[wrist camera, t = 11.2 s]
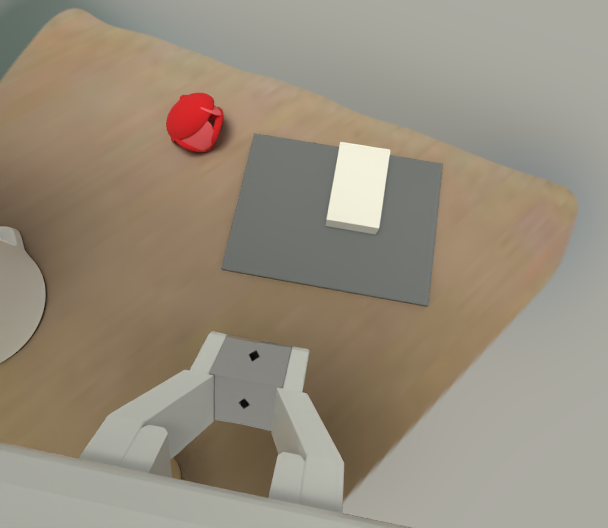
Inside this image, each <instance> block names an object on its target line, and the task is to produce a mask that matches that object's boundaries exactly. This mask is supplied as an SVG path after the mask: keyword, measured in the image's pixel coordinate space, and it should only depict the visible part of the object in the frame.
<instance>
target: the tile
mask: <svg viewBox="0 0 608 528" xmlns="http://www.w3.org/2000/svg"><path fill="white" fill-rule="evenodd" d="M389 156H390V150H388V149H382V148H376V147H370V146H363V145H357V144H351V143H345V142H340V146H339V152H338V158H337V163H336V169H335V174H334V180H333V185H332V191H331V197H330V202H329V208H328V213H327V219H326V226H328V227H334V228H340V229H346V230H352V231H357V232H363V233H369V234H375V235H376V233H377V231H378V230H379V226H380V219H381V212H382V205H383V198H384V191H385V184H386V177H387V170H388V163H389Z"/></svg>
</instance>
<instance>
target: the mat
mask: <svg viewBox="0 0 608 528" xmlns="http://www.w3.org/2000/svg"><path fill="white" fill-rule="evenodd" d="M338 152H339V147H335V146H329V145H323V144H317V143H310V142H304V141H298V140H292V139H285V138H279V137H273V136H267V135H261V134H254V137H253V141H252V145H251V149H250V153H249V157H248V161H247V165H246V169H245V174H244V178H243V182H242V186H241V190H240V194H239V198H238V202H237V207H236V211H235V215H234V219H233V223H232V227H231V231H230V235H229V239H228V244H227V248H226V252H225V256H224V260H223V264H222V268H221V269H222V270H226V271H232V272H237V273H243V274H248V275H254V276H259V277H265V278H271V279H276V280H282V281H287V282H293V283H299V284H304V285H310V286H315V287H321V288H326V289H332V290H338V291H343V292H349V293H354V294H360V295H366V296H371V297H377V298H382V299H388V300H393V301H399V302H405V303H410V304H416V305H421V306H428V303H429V293H430V283H431V274H432V264H433V254H434V245H435V235H436V225H437V216H438V206H439V196H440V186H441V177H442V167H443V164H441V163H435V162H429V161H422V160H416V159H410V158H404V157H397V156H391V155H390V156H389V163H388V170H387V177H386V184H385V191H384V198H383V205H382V212H381V219H380V226H379V230H378V231H377V233H376V235H375V234H369V233H363V232H357V231H352V230H346V229H340V228H334V227H328V226H326V219H327V213H328V208H329V202H330V197H331V191H332V185H333V180H334V174H335V169H336V163H337V158H338Z"/></svg>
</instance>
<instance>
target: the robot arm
mask: <svg viewBox="0 0 608 528" xmlns="http://www.w3.org/2000/svg"><path fill="white" fill-rule="evenodd" d="M45 296H46V293H45V284H44V279H43V276H42V274H41V271H40V270H39V268H38V266H37V265H36V263H35V262H34V261H33V260H32V259H31V257H30V256H29V255H28V254H27V253H26V251H25V249H24V245H23V241H22V238H21V235H20V233H19V231H18V230H16V229H14V228H11V227H7V226H0V363H1V362H2V361H4V360H6V359H8V358H9V357H11V356H12V355H13V354H15V353H16V352H17V351H18V350H19V349H20V348H21V347H22V346H23V345H24V344H25V343H26V342H27V341H28V340H29V339H30V337H31V336H32V334H33V333H34V331H35V330H36V328H37V326H38V324H39V322H40V319H41V317H42V314H43V310H44V305H45ZM308 356H309V349H304V348H299V347H292V346H287V345H281V344H275V343H270V342H264V341H258V340H253V339H249V338H244V337H239V336H234V335H230V334H223V333H219V332H214V331H212V332H210V333H209V334H208V336H207V338H206V340H205V342H204V344H203V346H202V348H201V349H200V351H199V353H198V355H197V357H196V359H195V361H194V363H193V365H192V366H191V368H190V370H183V371H181V372H180V373H178V374H176V375H175V376H173V377H171V378H170V379H168V380H166V381H164V382H163V383H161V384H159V385H158V386H156V387H154V388H153V389H151V390H149V391H148V392H146V393H144V394H143V395H141V396H139V397H137V398H136V399H134V400H132V401H131V402H129V403H127V404H126V405H124V406H122V407H121V408H119V409H117V410H115V411H114V412H112V413H110V414H109V415H108V416H107V417H106V419H105V420H104V422H103V423H102V425H101V426H100V428H99V429H98V431H97V432H96V433H95V435H94V436H93V438H92V439H91V441H90V442H89V444H88V445H87V447H86V448H85V449H84V451H83V452H82V454H81V455H80V457H79V458H75V457H70V456H65V455H60V454H55V453H51V452H46V451H41V450H36V449H31V448H27V447H22V446H17V445H12V444H8V443H3V442H0V528H411V527H406V526H401V525H396V524H392V523H386V522H382V521H377V520H372V519H368V518H363V517H358V516H353V515H348V514H344V513H342V504H343V480H344V462H343V460H342V458H341V456H340V454H339V452H338V450H337V448H336V447H335V445H334V443H333V441H332V439H331V437H330V435H329V433H328V431H327V430H326V428H325V426H324V424H323V422H322V420H321V418H320V416H319V415H318V413H317V411H316V409H315V407H314V405H313V403H312V401H311V400H310V398H309V396H308V394H307V393H303V386H304V380H305V374H306V368H307V362H308ZM214 420H218V421H224V422H230V423H236V424H242V425H246V426H251V427H255V428H260V429H264V430H268V431H271V433H272V437H273V440H274V443H275V446H276V449H277V452H278V457H277V461H276V466H275V470H274V475H273V479H272V484H271V488H270V493H269V497H268V498H267V497H262V496H257V495H252V494H247V493H242V492H238V491H233V490H228V489H223V488H218V487H214V486H209V485H204V484H199V483H194V482H190V481H185V480H180V479H175V478H172V472H171V461H170V460H171V459H172V458H173V457H174V456H175V455H177V454H178V453H179V452H180V451H181V450H182V449H183V448H184V447H186V446H187V445H188V444H189V443H190V442H191V441H192V440H193V439H195V438H196V437H197V436H198V435H199V434H200V433H201V432H202V431H204V430H205V429H206V428H207V427H208V426H209V425H210V424H211V423H212V422H214Z"/></svg>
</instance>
